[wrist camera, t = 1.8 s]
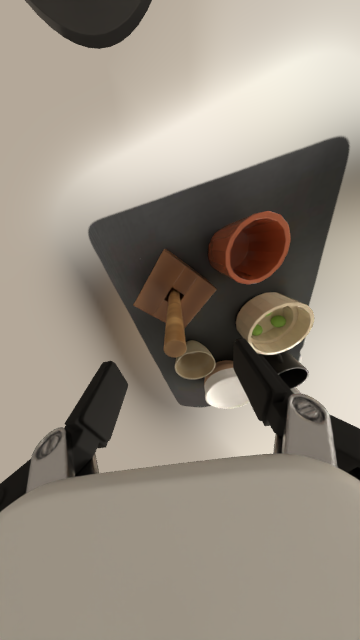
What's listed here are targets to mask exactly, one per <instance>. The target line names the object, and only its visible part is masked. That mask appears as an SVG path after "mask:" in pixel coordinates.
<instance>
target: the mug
mask: <svg viewBox="0 0 360 640" xmlns="http://www.w3.org/2000/svg"><path fill="white" fill-rule="evenodd" d="M257 354H258V355H259V353H257ZM261 355H262V356H263V357H264V358H265V359H266V360H267V361H268V363H269V364H270V365H271V366H272V367H273V369H274V370H275V371H276V372H277V374H278V375H279V376H280V377H281V378H282V380H283V381H284V382H285V383H286V384H287V386H288V387H289V388H290V389H292V388H295V387H296V386H299V385H300V384H302V383H303V382H304V381H305V380H306V379H307V378H308V376H309V372H308V370H307V369H306V368H305V367H304V366H303V365H302V364H301V363H300V362H298V361H297V360H296V359H295V358H294V357H293V356H292V355H291V354H290V353H289V352H288V351H284V352H281V353H278V354H273V355H264V354H261Z"/></svg>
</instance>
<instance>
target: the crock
mask: <svg viewBox="0 0 360 640" xmlns="http://www.w3.org/2000/svg"><path fill="white" fill-rule="evenodd" d="M290 238H291V237H290V231H289V225H288V224H287V222H286V221H285V220H284V218H283V217H282V216H281V215H280V214H276V213H273V212H270V211H266V212H261V213H257V214H253V215H251V216H248V217H246V218H243V219H241V220H238V221H236V222H233V223H231V224H228V225H226V226H224V227H223V228H221V229H220V230H218V231H217V232H216V233H215V235H214V236H213V237H212V239H211V241H210V244H209V247H208V259H209V262H210V264H211V265H212V267H213V268H214V269H216V270H217V271H218V272H220V273H222V274H224V275H226V276H227V277H229V278H231V279H233V280H235V281H236V282H239V283H243V284H253V283H258V282H261V281H262V280H264V279H266V278H268V277H269V276H271V275H272V274H273V273H274V272H275V271H276V270H277V269H278V268H279V267H280V266H281V264H282V262H283V260H284V258H285V257H286V255H287V253H288V249H289V244H290Z"/></svg>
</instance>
